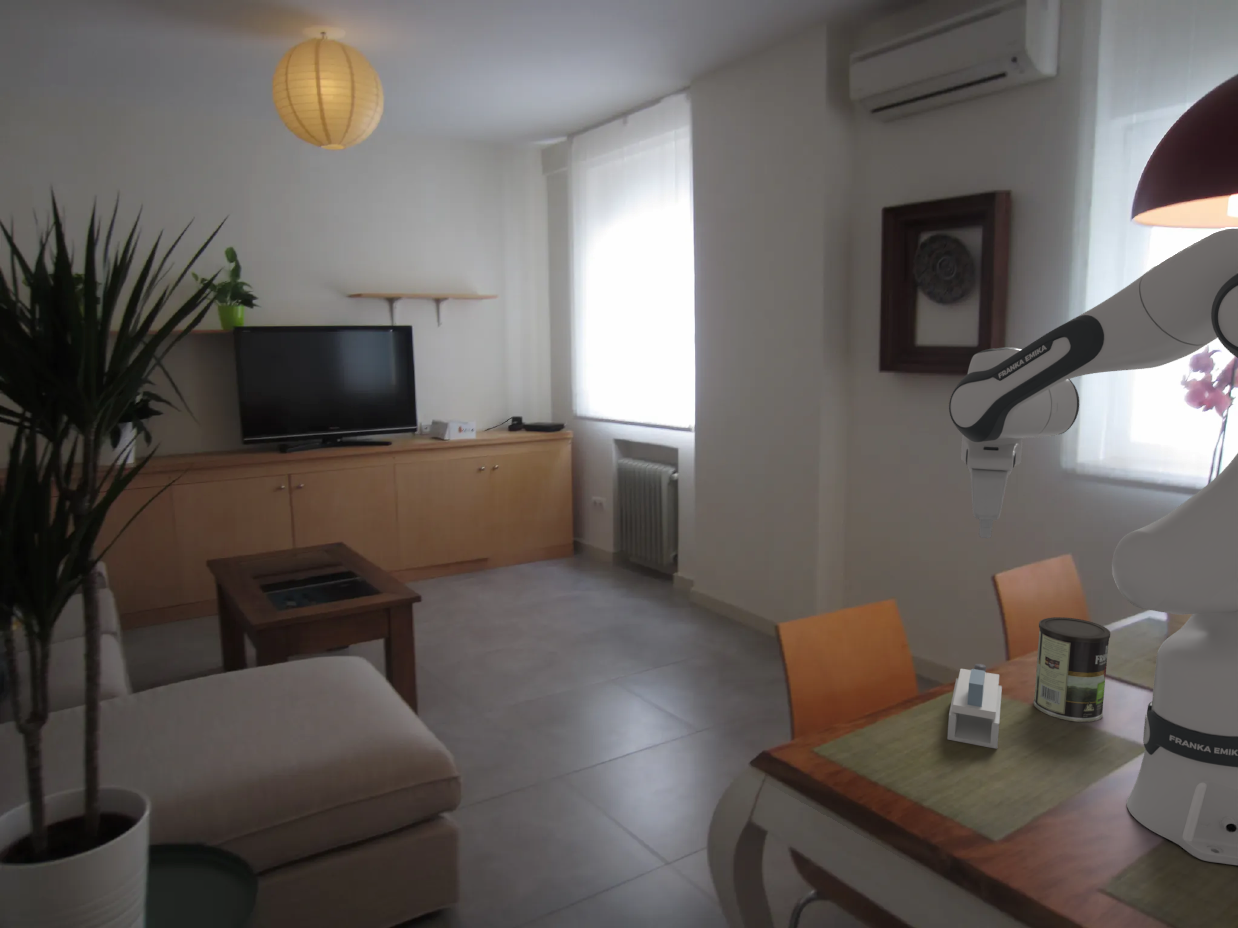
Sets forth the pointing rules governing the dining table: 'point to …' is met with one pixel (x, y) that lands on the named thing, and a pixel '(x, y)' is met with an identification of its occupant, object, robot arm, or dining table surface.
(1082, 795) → the dining table surface
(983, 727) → the duct
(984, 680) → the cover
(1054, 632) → the coffee can
